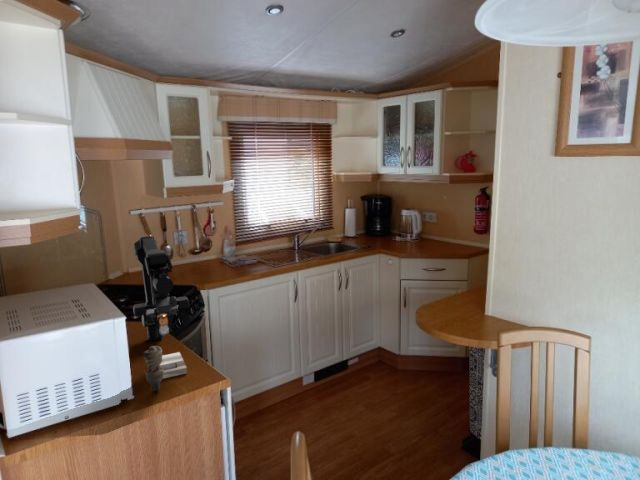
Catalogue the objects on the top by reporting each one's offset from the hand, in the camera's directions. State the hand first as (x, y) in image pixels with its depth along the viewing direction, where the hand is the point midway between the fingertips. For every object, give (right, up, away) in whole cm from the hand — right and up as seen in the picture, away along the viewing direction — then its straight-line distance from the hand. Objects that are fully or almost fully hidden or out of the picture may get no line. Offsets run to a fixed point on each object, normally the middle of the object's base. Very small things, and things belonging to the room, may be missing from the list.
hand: (163, 328), depth 164 cm
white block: (+3, -13, -5) cm, 14 cm away
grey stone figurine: (+5, -16, -20) cm, 26 cm away
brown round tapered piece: (0, -2, 0) cm, 2 cm away
